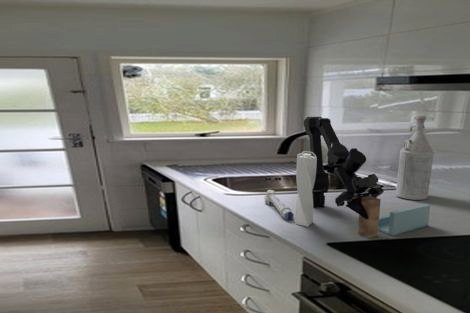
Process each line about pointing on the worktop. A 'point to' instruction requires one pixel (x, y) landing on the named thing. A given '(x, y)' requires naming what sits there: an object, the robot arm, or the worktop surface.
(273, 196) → the syringe
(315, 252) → the worktop surface
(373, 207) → the walnut box
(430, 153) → the white bottle
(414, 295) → the worktop surface
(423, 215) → the backboard channel
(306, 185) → the skyscraper
